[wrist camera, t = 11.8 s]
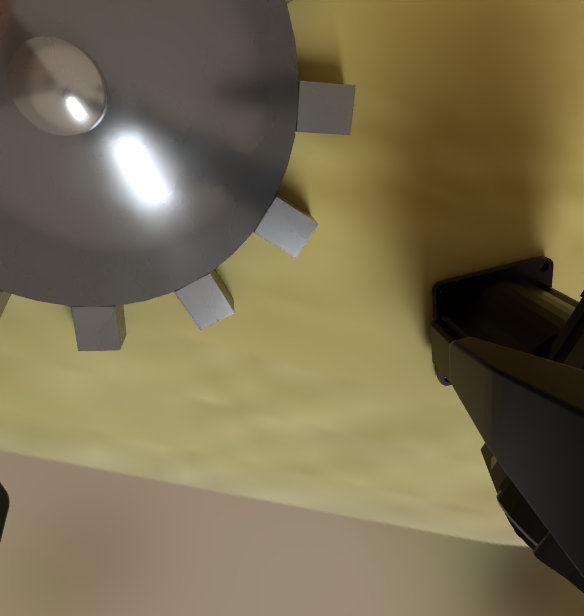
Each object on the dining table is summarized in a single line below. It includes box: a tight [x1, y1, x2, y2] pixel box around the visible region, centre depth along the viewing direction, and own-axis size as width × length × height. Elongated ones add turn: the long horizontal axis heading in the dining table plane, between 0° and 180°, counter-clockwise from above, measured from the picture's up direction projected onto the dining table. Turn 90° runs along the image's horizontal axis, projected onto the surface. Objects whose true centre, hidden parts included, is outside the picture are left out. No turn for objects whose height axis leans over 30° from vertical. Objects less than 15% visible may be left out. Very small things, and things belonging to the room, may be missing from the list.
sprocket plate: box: [0, 0, 356, 351], centre depth 16 cm, size 21×21×2 cm
